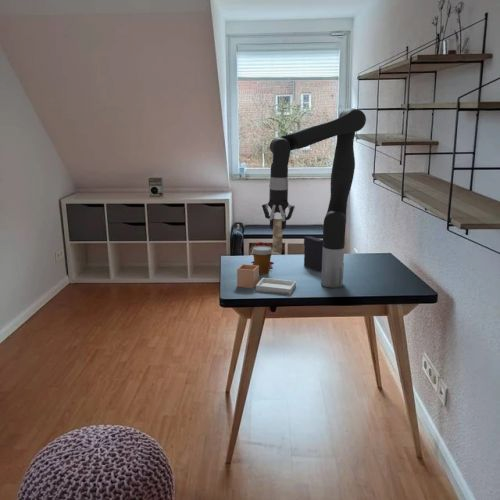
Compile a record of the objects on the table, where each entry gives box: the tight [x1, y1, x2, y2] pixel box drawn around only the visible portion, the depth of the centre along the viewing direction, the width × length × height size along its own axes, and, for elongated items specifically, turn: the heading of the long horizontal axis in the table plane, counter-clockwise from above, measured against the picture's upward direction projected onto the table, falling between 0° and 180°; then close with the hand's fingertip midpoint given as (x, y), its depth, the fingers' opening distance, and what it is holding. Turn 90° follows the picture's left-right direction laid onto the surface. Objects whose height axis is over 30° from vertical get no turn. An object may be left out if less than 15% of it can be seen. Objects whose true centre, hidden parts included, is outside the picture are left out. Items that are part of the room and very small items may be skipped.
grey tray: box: [255, 277, 297, 296], centre depth 217 cm, size 15×11×2 cm
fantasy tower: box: [251, 241, 275, 270], centre depth 248 cm, size 12×12×12 cm
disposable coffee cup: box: [251, 245, 273, 275], centre depth 237 cm, size 10×10×12 cm
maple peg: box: [272, 217, 284, 253], centre depth 211 cm, size 4×4×14 cm
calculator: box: [303, 235, 323, 272], centre depth 245 cm, size 11×4×15 cm, turn 34°
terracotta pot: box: [236, 263, 260, 289], centre depth 221 cm, size 8×8×8 cm
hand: (277, 228), depth 210 cm, fingers closed on maple peg, 4 cm apart
